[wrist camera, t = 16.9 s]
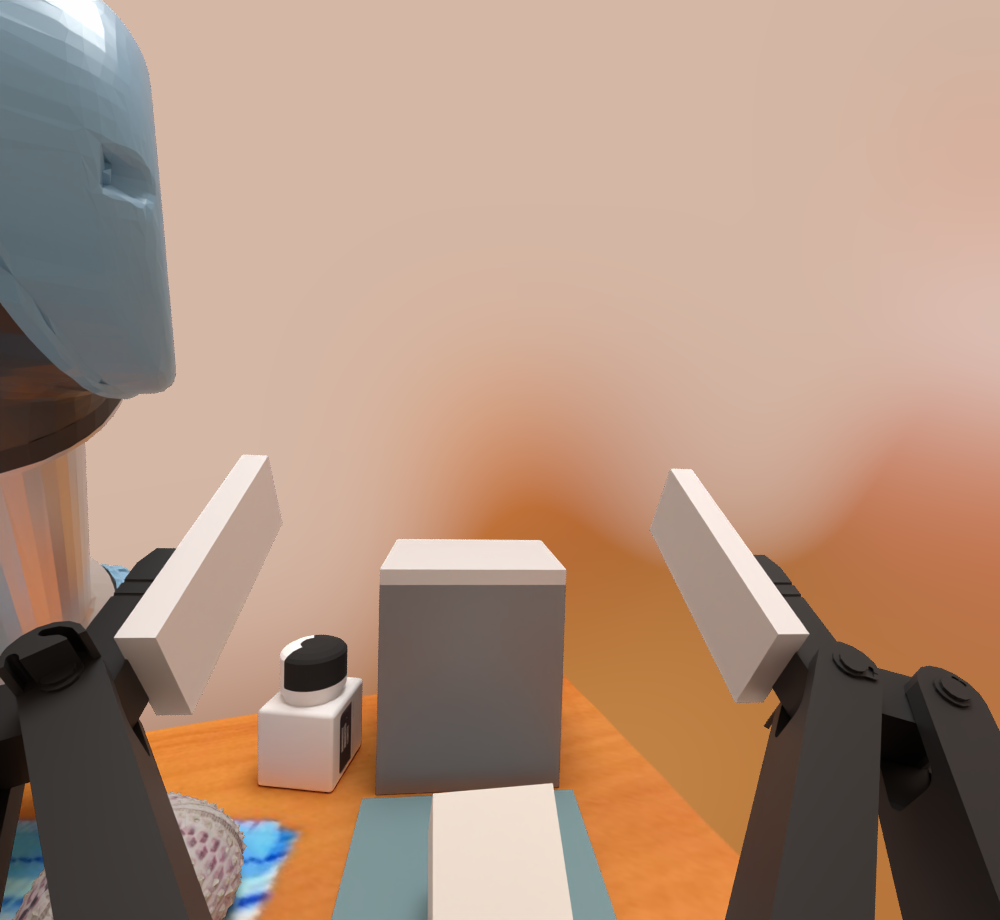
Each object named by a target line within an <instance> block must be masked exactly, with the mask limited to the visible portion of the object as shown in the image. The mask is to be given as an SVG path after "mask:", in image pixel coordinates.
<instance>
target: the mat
mask: <svg viewBox="0 0 1000 920" xmlns="http://www.w3.org/2000/svg"><path fill="white" fill-rule="evenodd" d="M554 795H555V802H556V808H557V815H558V822H559V828H560V835H561V842H562V848H563V855H564V862H565V868H566V875H567V882H568V888H569V895H570V902H571V909H572V915H573V920H617V919H616V916H615V913H614V910H613V907H612V904H611V901H610V898H609V895H608V892H607V889H606V886H605V883H604V881H603V878H602V875H601V872H600V869H599V866H598V863H597V860H596V857H595V854H594V851H593V848H592V845H591V842H590V839H589V836H588V833H587V830H586V827H585V825H584V822H583V819H582V816H581V813H580V810H579V807H578V804H577V801H576V798H575V795H574V792H573V790H555V791H554ZM432 797H433V796H415V797H392V798H369V799H362V802H361V806H360V810H359V814H358V818H357V822H356V826H355V830H354V834H353V837H352V841H351V845H350V849H349V853H348V857H347V861H346V865H345V869H344V873H343V877H342V880H341V884H340V888H339V892H338V896H337V900H336V904H335V908H334V912H333V916H332V920H428V829H429V821H430V813H431V805H432Z"/></svg>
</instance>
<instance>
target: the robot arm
mask: <svg viewBox="0 0 1000 920" xmlns="http://www.w3.org/2000/svg"><path fill="white" fill-rule="evenodd" d="M175 376H176V365H175V353H174V340H173V328H172V317H171V306H170V295H169V286H168V275H167V262H166V249H165V237H164V225H163V214H162V203H161V193H160V181H159V170H158V159H157V148H156V137H155V126H154V115H153V105H152V95H151V85H150V80H149V73H148V69H147V66H146V63H145V60H144V57H143V55H142V53H141V51H140V49H139V47H138V45H137V43H136V41H135V40H134V38H133V37H132V35H131V33H130V32H129V30H128V29H127V27H126V26H125V25H124V23H123V22H122V21H121V19H120V18H119V17H118V16H117V15H116V14H115V13H114V12H113V11H112V9H111V8H110V7H109V6H107V5H106V4H105V3H104V2H103V1H102V0H0V911H1V906H2V901H3V896H4V891H5V885H6V880H7V875H8V870H9V864H10V859H11V854H12V849H13V844H14V838H15V833H16V828H17V823H18V817H19V812H20V807H21V802H22V797H23V791H24V786H25V783H28V782H30V784H31V790H32V796H33V802H34V808H35V814H36V820H37V825H38V831H39V837H40V843H41V849H42V855H43V861H44V867H45V873H46V879H47V885H48V891H49V897H50V903H51V908H52V914H53V920H213V919H212V917H211V914H210V911H209V908H208V906H207V903H206V900H205V897H204V894H203V892H202V889H201V886H200V883H199V881H198V878H197V875H196V872H195V869H194V867H193V864H192V861H191V858H190V856H189V853H188V850H187V847H186V845H185V842H184V839H183V836H182V833H181V831H180V828H179V825H178V822H177V820H176V817H175V814H174V811H173V808H172V806H171V803H170V800H169V797H168V795H167V792H166V789H165V786H164V784H163V781H162V778H161V775H160V772H159V770H158V767H157V764H156V761H155V759H154V756H153V753H152V750H151V747H150V745H149V742H148V739H147V736H146V734H145V731H144V728H143V725H142V723H141V722H140V720H139V717H140V716H141V714H142V712H143V710H144V708H145V707H146V705H147V703H148V701H149V703H150V704H151V706H152V708H153V710H154V712H155V714H156V715H192V714H193V712H194V710H195V708H196V706H197V704H198V701H199V699H200V697H201V695H202V693H203V691H204V689H205V687H206V685H207V682H208V680H209V678H210V676H211V674H212V672H213V669H214V668H215V665H216V663H217V661H218V659H219V657H220V655H221V653H222V651H223V648H224V646H225V644H226V642H227V640H228V638H229V636H230V633H231V631H232V629H233V627H234V625H235V623H236V621H237V619H238V616H239V614H240V612H241V610H242V608H243V606H244V604H245V602H246V599H247V597H248V595H249V593H250V591H251V589H252V586H253V584H254V582H255V580H256V578H257V576H258V574H259V572H260V569H261V567H262V565H263V563H264V561H265V559H266V557H267V555H268V553H269V551H270V548H271V546H272V544H273V542H274V540H275V538H276V536H277V533H278V531H279V529H280V527H281V525H282V519H281V514H280V509H279V505H278V500H277V495H276V491H275V486H274V481H273V476H272V471H271V467H270V462H269V457H268V456H267V455H242V456H241V457H240V459H239V460H238V462H237V463H236V465H235V466H234V468H233V469H232V470H231V472H230V473H229V475H228V476H227V477H226V479H225V480H224V482H223V483H222V485H221V486H220V487H219V489H218V490H217V492H216V493H215V494H214V496H213V497H212V499H211V500H210V501H209V503H208V505H207V506H206V507H205V509H204V510H203V511H202V513H201V514H200V516H199V517H198V519H197V520H196V521H195V523H194V524H193V526H192V527H191V529H190V530H189V531H188V533H187V534H186V536H185V537H184V538H183V540H182V541H181V543H180V544H179V546H178V547H177V548H176V549H175V548H173V549H172V548H157V549H155V550H154V551H152V552H151V553H150V554H148V555H147V556H146V557H144V558H143V559H141V560H140V561H139V562H137V564H136V565H135V566H134V567H133V569H132V570H131V571H130V572H129V570H128V569H127V568H125V567H122V566H116V565H115V566H109V565H105V564H102V565H100V564H99V563H98V562H97V561H95V560H94V559H93V558H91V557H90V553H89V529H88V505H87V482H86V458H85V442H87V441H88V440H89V439H90V438H91V437H93V436H94V435H95V434H96V433H97V432H99V431H100V430H101V429H102V428H103V427H104V426H105V425H106V424H107V422H108V421H109V420H110V419H111V418H112V417H113V416H114V414H115V412H116V411H117V409H118V408H119V406H120V405H121V403H122V400H123V399H129V398H132V397H135V396H137V395H138V394H149V393H150V394H151V393H158V392H162V391H164V390H165V389H167V388H168V387H170V386H171V385H172V383H173V382H174V379H175ZM650 532H651V533H652V536H653V538H654V540H655V542H656V544H657V546H658V548H659V550H660V552H661V554H662V556H663V558H664V560H665V561H666V564H667V566H668V568H669V570H670V572H671V574H672V576H673V578H674V580H675V582H676V584H677V586H678V588H679V590H680V592H681V594H682V596H683V598H684V600H685V602H686V604H687V606H688V608H689V610H690V612H691V614H692V616H693V618H694V620H695V622H696V624H697V626H698V629H699V631H700V633H701V635H702V637H703V639H704V641H705V643H706V645H707V647H708V649H709V651H710V653H711V655H712V657H713V659H714V661H715V663H716V665H717V667H718V669H719V671H720V673H721V675H722V677H723V679H724V681H725V683H726V685H727V687H728V689H729V691H730V693H731V695H732V697H733V699H734V701H735V703H751V702H764V700H765V699H766V697H767V696H768V694H769V693H770V692H771V690H772V689H773V690H774V691H775V693H776V695H777V696H778V698H779V700H780V704H779V705H778V706H777V708H776V709H775V711H774V712H773V713H772V715H771V716H770V718H769V719H768V721H767V722H766V724H765V725H764V727H766V728H768V729H769V727H770V726H771V725H772V727H771V731H770V735H769V739H768V744H767V747H766V752H765V756H764V760H763V764H762V768H761V772H760V776H759V781H758V785H757V790H756V794H755V797H754V802H753V806H752V810H751V814H750V818H749V822H748V827H747V831H746V835H745V839H744V843H743V847H742V851H741V855H740V860H739V864H738V868H737V872H736V876H735V880H734V885H733V889H732V893H731V897H730V901H729V905H728V910H727V914H726V918H725V920H874V919H875V892H876V864H877V835H878V815H879V819H880V824H881V828H882V832H883V836H884V841H885V845H886V849H887V854H888V858H889V862H890V866H891V871H892V875H893V880H894V884H895V888H896V892H897V897H898V901H899V906H900V910H901V914H902V918H903V920H1000V731H999V729H998V727H997V725H996V723H995V721H994V718H993V717H992V714H991V712H990V710H989V708H988V706H987V704H986V703H985V701H984V700H983V698H982V697H981V695H980V694H979V693H978V692H977V691H976V690H975V689H974V688H973V687H972V686H971V685H970V684H968V683H967V682H965V681H964V680H963V679H961V678H960V677H958V676H956V675H955V674H953V673H951V672H948V671H946V670H944V669H942V668H938V667H932V666H926V667H921V668H920V669H919V670H918V671H917V672H916V673H915V674H914V675H913V676H912V677H909V676H905V675H902V674H897V673H894V672H890V671H887V670H883V669H879V668H877V666H876V665H875V663H874V662H873V661H872V660H870V659H869V658H868V657H867V656H866V655H865V654H864V653H862V652H861V651H859V650H857V649H856V648H854V647H852V646H850V645H847V644H845V643H842V642H837V641H836V640H835V639H834V637H833V636H832V635H831V633H830V632H829V631H828V629H827V628H826V627H825V626H824V624H823V623H822V622H821V620H820V619H819V618H818V616H817V615H816V614H815V612H814V611H813V610H812V608H811V607H810V606H809V604H808V603H807V602H806V601H805V599H804V598H803V597H801V594H800V593H799V591H798V590H797V589H796V587H795V586H793V585H792V582H791V581H790V580H789V578H788V577H787V576H786V574H785V573H784V572H783V570H782V569H781V568H780V567H779V566H778V565H776V564H775V563H774V562H772V561H771V560H770V559H769V558H768V557H766V556H765V555H753V554H752V553H751V551H750V550H749V549H748V547H747V546H746V545H745V543H744V542H743V540H742V539H741V538H740V536H739V535H738V533H737V532H736V531H735V529H734V528H733V527H732V525H731V524H730V522H729V521H728V519H727V518H726V517H725V516H724V514H723V512H722V511H721V510H720V508H719V507H718V506H717V504H716V503H715V501H714V500H713V498H712V497H711V496H710V494H709V493H708V492H707V490H706V489H705V487H704V486H703V485H702V483H701V482H700V480H699V479H698V478H697V476H696V475H695V473H694V472H693V471H692V470H691V469H670V471H669V474H668V477H667V480H666V483H665V486H664V489H663V492H662V495H661V498H660V501H659V504H658V507H657V510H656V513H655V516H654V519H653V522H652V525H651V528H650Z"/></svg>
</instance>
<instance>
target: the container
mask: <svg viewBox="0 0 1000 920" xmlns="http://www.w3.org/2000/svg"><path fill="white" fill-rule="evenodd" d="M361 735H362V680H361V679H360V678H351V677H347V645H346V643H345V642H344V641H343V640H342V639H340V638H338V637H334V636H329V635H312V636H308V637H303V638H300V639H298V640H296V641H294V642H291V643H290V644H288V645H287V646H286V647H285V648H284V649H283V650H282V651H281V653H280V691H279V692H278V693H277V694H276V695H275V696H274V697H273V698H272V699H271V700H269V701H268V702H267V703H266V704H265V705H264V706H263V707H262V708H261V709H260V710H259V712H258V784H259V785H262V786H272V787H282V788H291V789H301V790H311V791H321V792H331V791H332V790H333V789H334V788H335V786H336V784H337V783H338V781H339V779H340V778H341V776H342V775H343V773H344V771H345V770H346V768H347V766H348V765H349V763H350V762H351V760H352V758H353V757H354V755H355V753H356V752H357V750H358V748H359V747H360V745H361Z"/></svg>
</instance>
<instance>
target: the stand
mask: <svg viewBox="0 0 1000 920" xmlns="http://www.w3.org/2000/svg"><path fill="white" fill-rule="evenodd" d="M565 592H566V569H565V568H564V567H563V565H562V564H561V563H560V562H559V561H558V560H557V559H556V557H555V556H554V555H553V554H552V553H551V552H550V550H549V549H548V548H547V547H546V546H545V545H544V543H542V541H541V540H448V539H447V540H445V539H444V540H443V539H439V540H438V539H434V540H433V539H397V541H396V542H395V544H394V546H393V548H392V549H391V551H390V553H389V555H388V556H387V558H386V560H385V562H384V563H383V565H382V567H381V568H380V595H379V598H380V599H379V650H378V702H377V756H376V795H383V794H407V793H431V792H454V791H469V790H480V789H492V788H503V787H515V786H526V785H537V784H549V783H553V787H559V771H560V741H561V711H562V682H563V652H564V621H565Z"/></svg>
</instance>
